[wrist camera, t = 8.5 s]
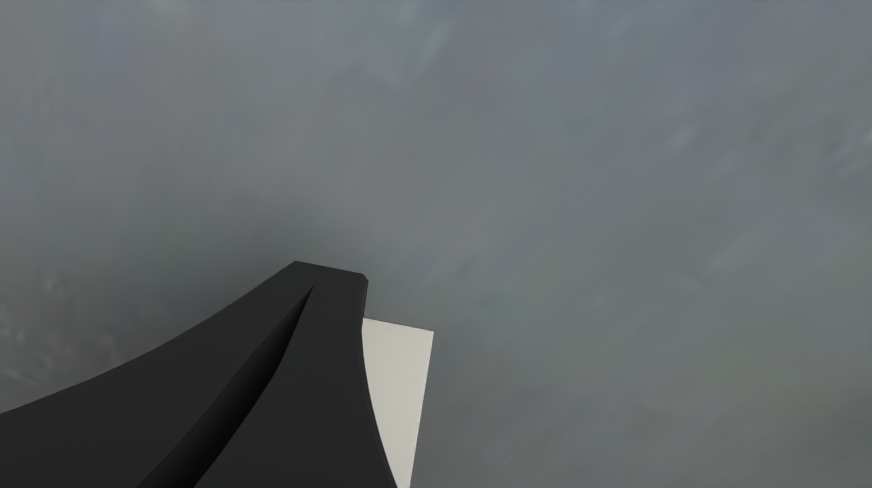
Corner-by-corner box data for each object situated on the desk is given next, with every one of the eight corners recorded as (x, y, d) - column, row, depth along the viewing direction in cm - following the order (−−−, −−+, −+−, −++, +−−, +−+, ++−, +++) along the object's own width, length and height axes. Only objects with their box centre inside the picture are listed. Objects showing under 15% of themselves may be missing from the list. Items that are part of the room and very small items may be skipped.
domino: (433, 331, 17) (381, 663, 9) (425, 371, 18) (371, 709, 10) (290, 303, 17) (117, 612, 9) (287, 345, 18) (126, 662, 10)
